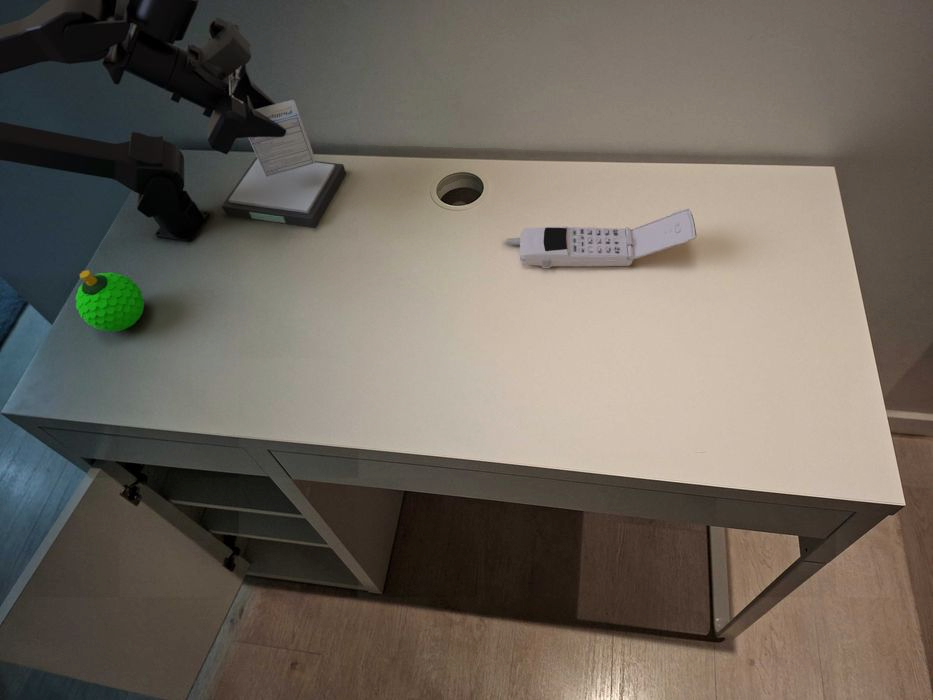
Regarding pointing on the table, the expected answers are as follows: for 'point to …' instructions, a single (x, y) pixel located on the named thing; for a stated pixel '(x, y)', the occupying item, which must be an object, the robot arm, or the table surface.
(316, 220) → the kitchen scale
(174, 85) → the robot arm
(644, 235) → the mobile phone
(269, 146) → the medicine box
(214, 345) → the table surface
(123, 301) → the ornament
